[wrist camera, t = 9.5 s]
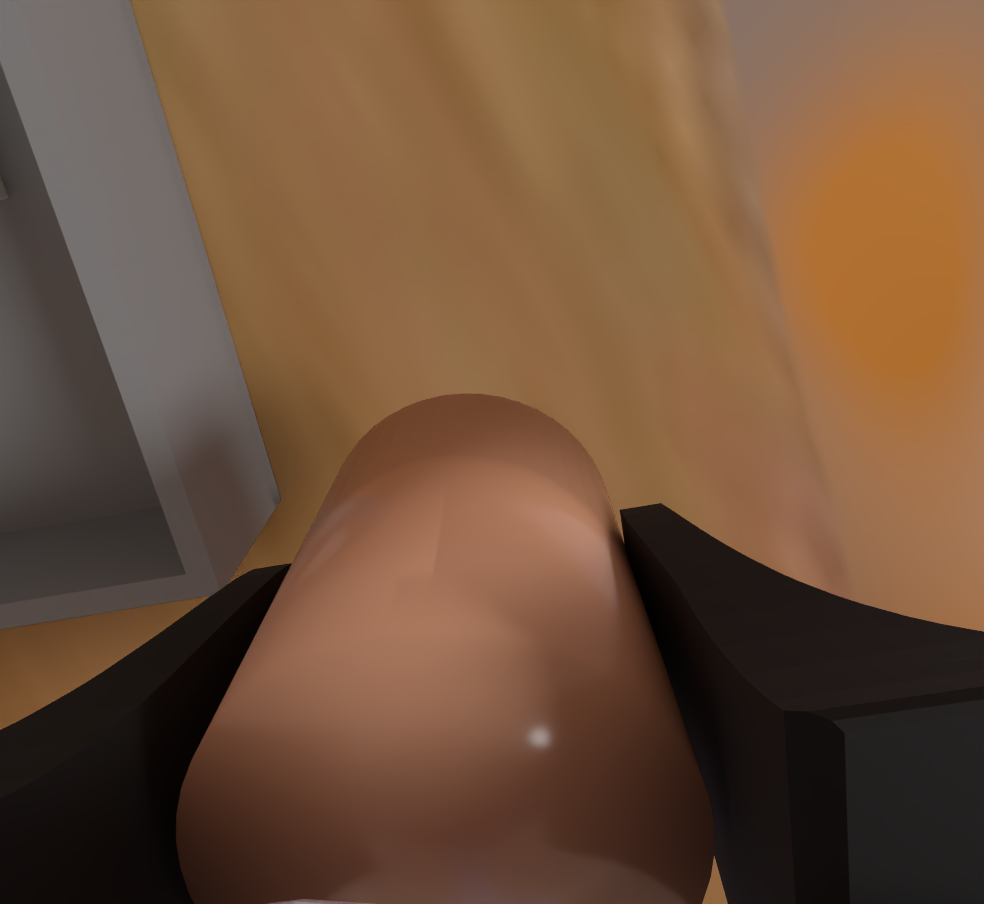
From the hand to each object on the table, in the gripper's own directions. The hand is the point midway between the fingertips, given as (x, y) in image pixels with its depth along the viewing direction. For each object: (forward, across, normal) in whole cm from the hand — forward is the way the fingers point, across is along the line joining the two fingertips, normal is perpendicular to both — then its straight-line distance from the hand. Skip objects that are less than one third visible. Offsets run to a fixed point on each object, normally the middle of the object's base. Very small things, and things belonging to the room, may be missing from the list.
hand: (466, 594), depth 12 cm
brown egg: (+2, 0, 0) cm, 2 cm away
